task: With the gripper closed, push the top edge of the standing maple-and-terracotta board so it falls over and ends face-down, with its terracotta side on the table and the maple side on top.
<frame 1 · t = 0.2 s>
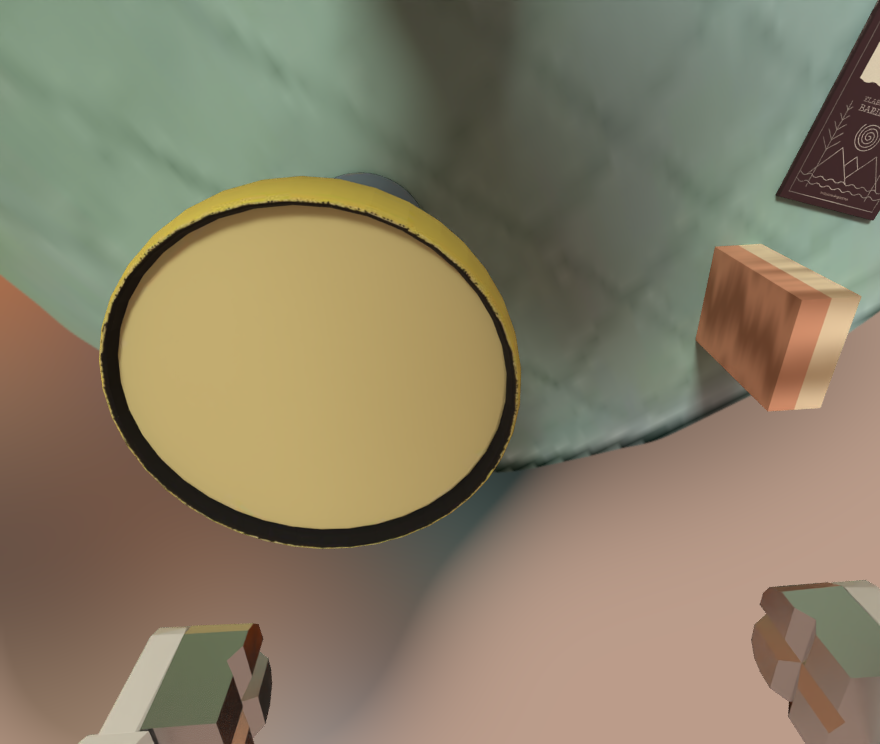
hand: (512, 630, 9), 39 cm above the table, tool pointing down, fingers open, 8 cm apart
maple board: (726, 294, 48), on the table
cocktail glass: (364, 239, 45), on the table
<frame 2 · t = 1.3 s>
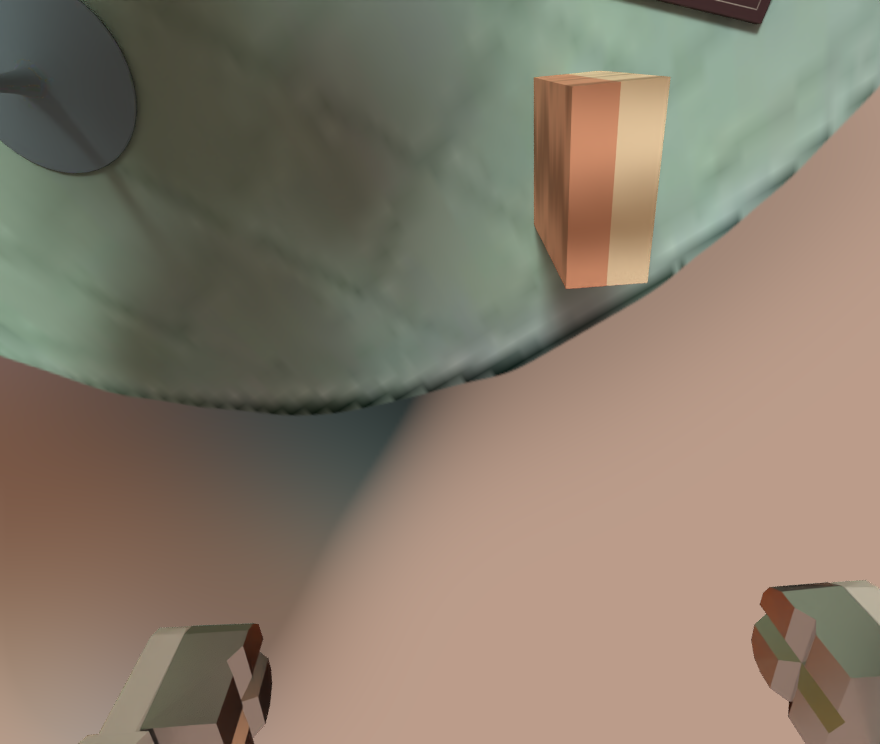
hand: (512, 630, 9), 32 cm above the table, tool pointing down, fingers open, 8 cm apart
maple board: (564, 152, 35), on the table
cocktail glass: (49, 80, 33), on the table
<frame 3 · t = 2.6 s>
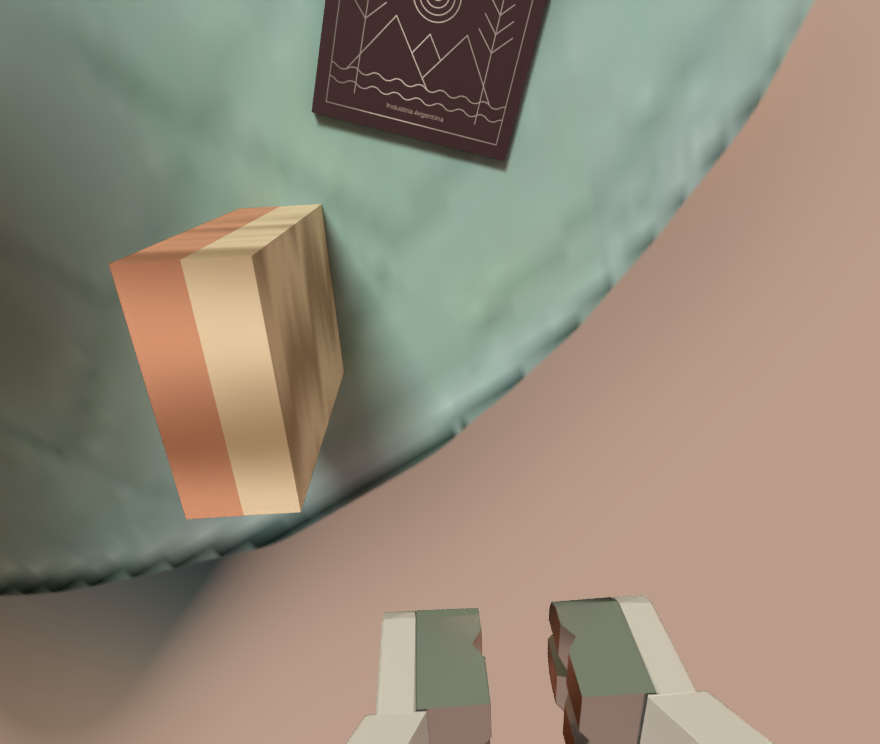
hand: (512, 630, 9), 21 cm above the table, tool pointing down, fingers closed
maple board: (295, 296, 28), on the table
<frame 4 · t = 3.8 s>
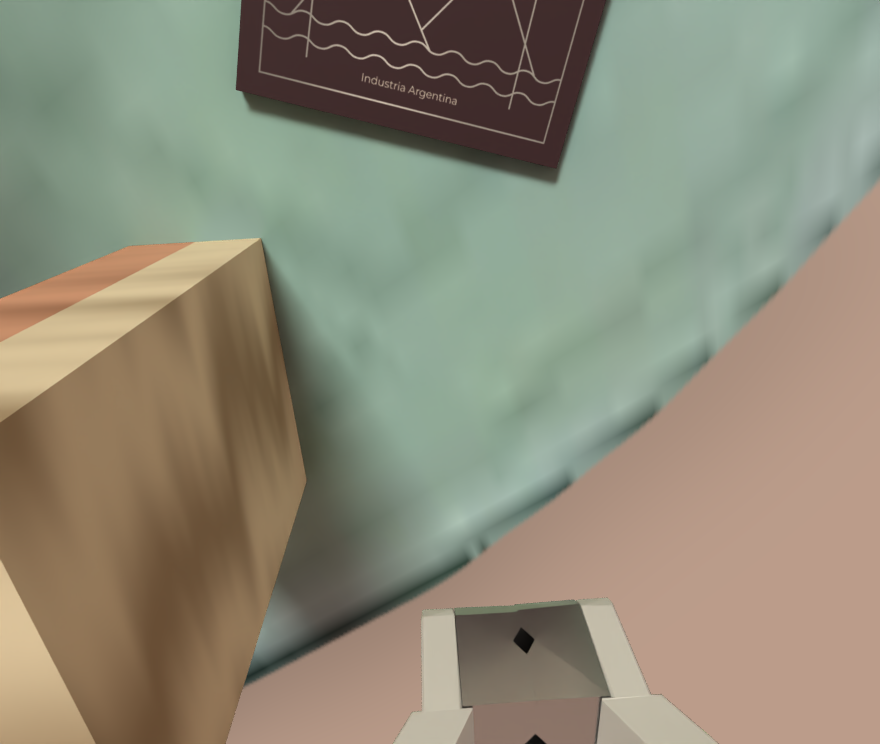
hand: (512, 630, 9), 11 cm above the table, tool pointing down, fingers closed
maple board: (227, 375, 18), on the table
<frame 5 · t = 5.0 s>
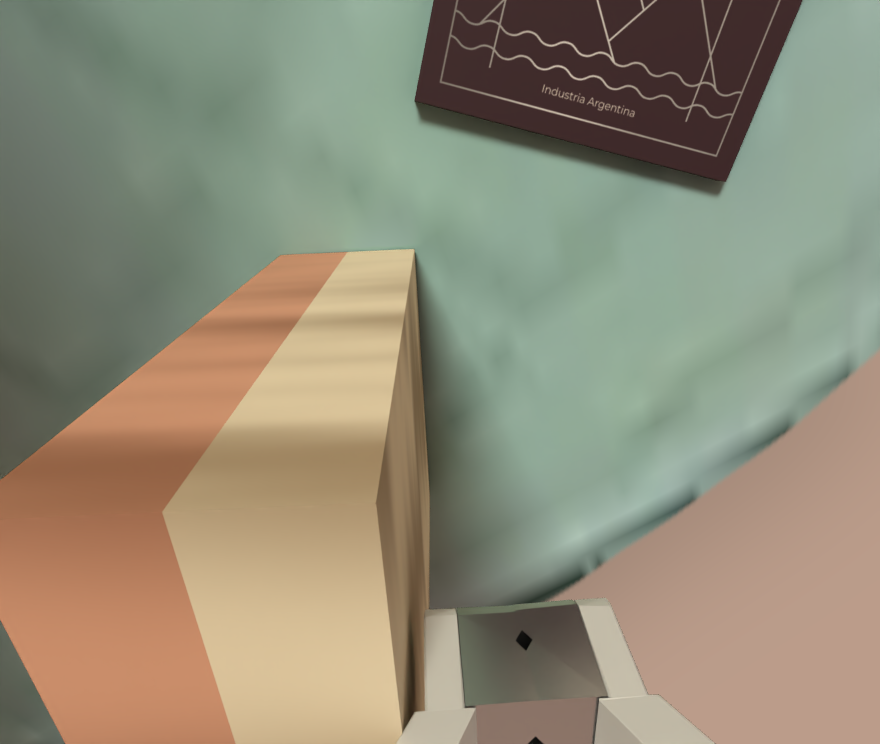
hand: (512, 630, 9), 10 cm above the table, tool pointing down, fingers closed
maple board: (362, 387, 18), on the table, touching gripper
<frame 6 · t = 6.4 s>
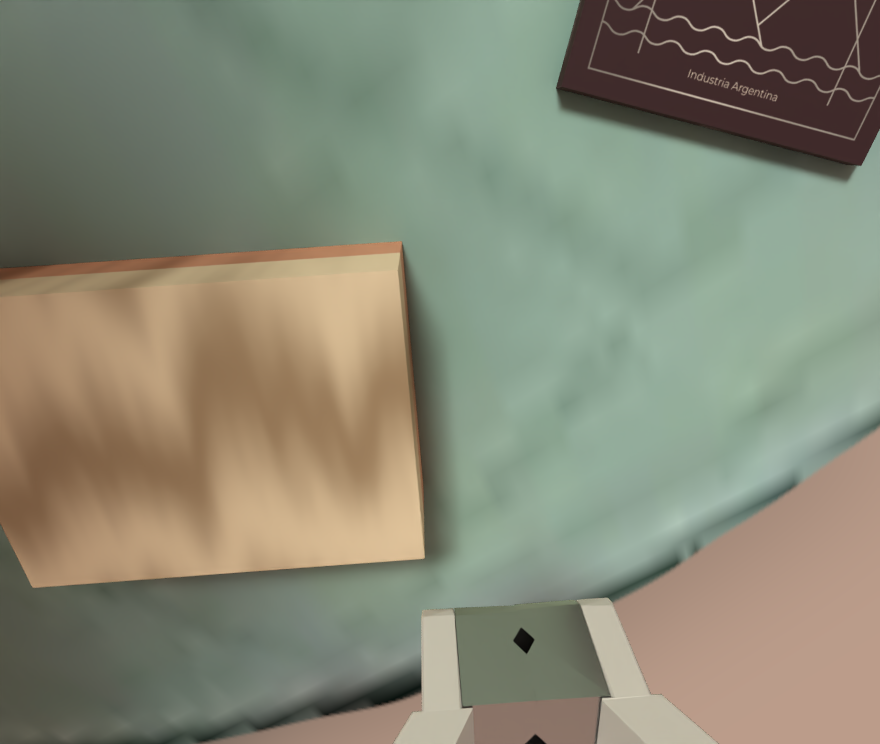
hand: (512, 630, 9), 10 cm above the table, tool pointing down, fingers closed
maple board: (413, 399, 16), point 2 cm above the table, tilted 90°
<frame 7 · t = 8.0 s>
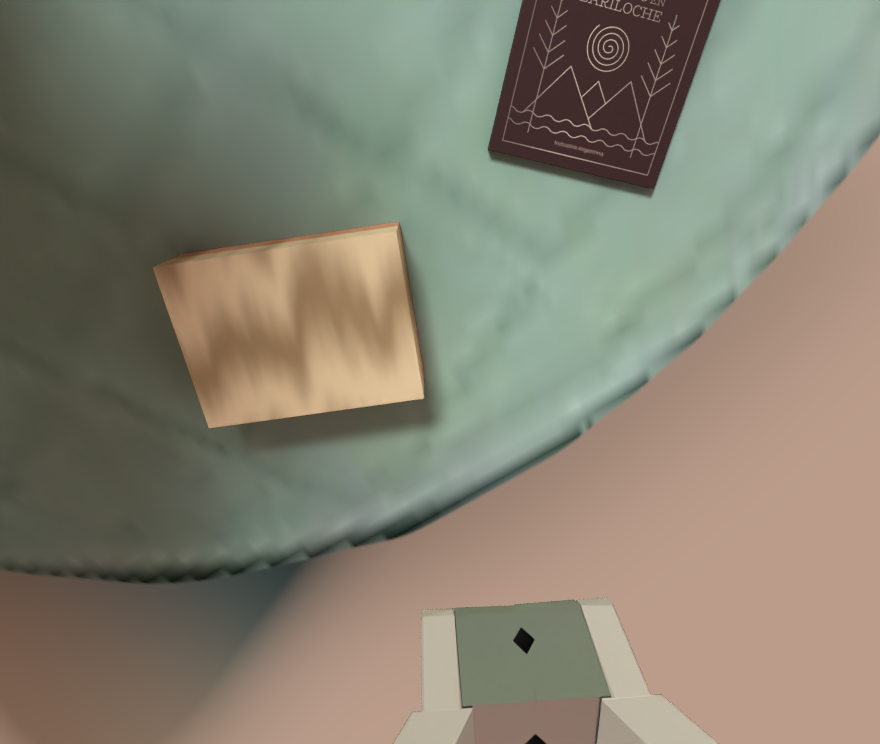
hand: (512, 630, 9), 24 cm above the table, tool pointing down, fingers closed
maple board: (411, 309, 29), point 2 cm above the table, tilted 90°
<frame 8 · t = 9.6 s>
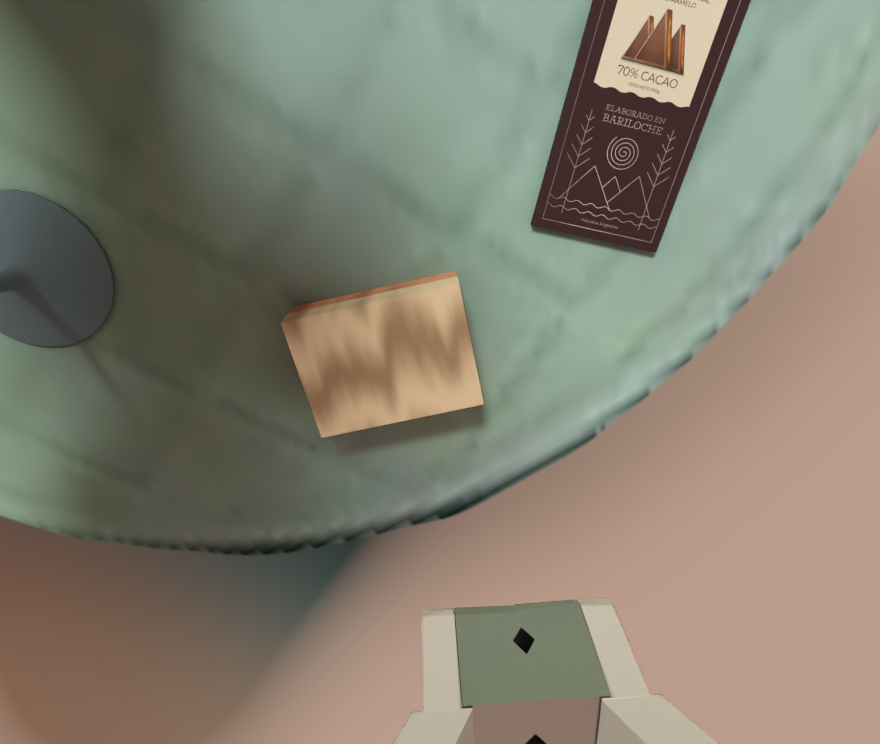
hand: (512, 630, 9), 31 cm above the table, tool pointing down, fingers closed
chocolate bar: (635, 96, 34), on the table
maple board: (469, 336, 38), point 2 cm above the table, tilted 90°
cocktail glass: (33, 271, 37), on the table
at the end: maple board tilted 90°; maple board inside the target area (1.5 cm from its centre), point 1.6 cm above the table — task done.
